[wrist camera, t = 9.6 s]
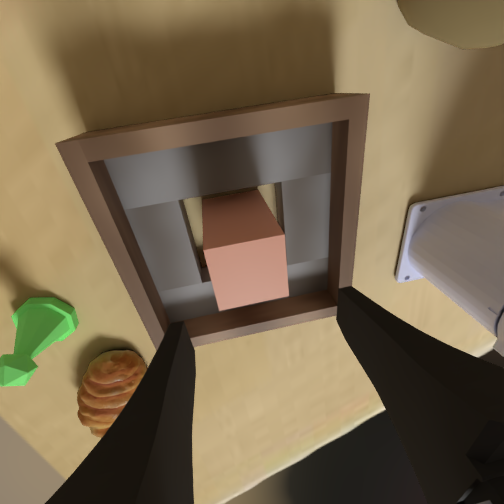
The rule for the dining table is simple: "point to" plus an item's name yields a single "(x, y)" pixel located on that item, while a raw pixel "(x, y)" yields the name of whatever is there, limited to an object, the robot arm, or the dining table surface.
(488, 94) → the dining table surface
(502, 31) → the squeeze bottle
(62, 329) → the game piece
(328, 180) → the socket box
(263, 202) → the peg
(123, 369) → the pastry
